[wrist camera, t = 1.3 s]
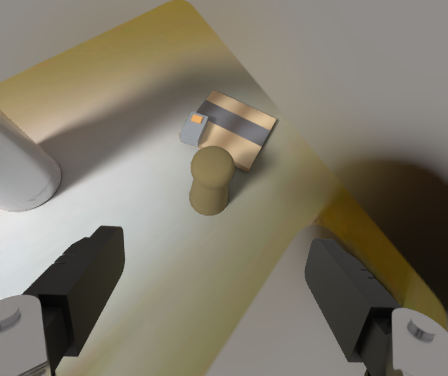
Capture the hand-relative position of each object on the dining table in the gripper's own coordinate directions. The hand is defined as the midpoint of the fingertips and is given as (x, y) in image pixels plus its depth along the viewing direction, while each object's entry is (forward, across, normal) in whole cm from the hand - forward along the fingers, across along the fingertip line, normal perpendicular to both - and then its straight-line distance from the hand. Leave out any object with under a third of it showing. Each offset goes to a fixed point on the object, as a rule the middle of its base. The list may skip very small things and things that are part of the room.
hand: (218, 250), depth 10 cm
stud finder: (+31, +3, -1) cm, 32 cm away
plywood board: (+34, -3, -2) cm, 34 cm away
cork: (+25, 0, +8) cm, 26 cm away
